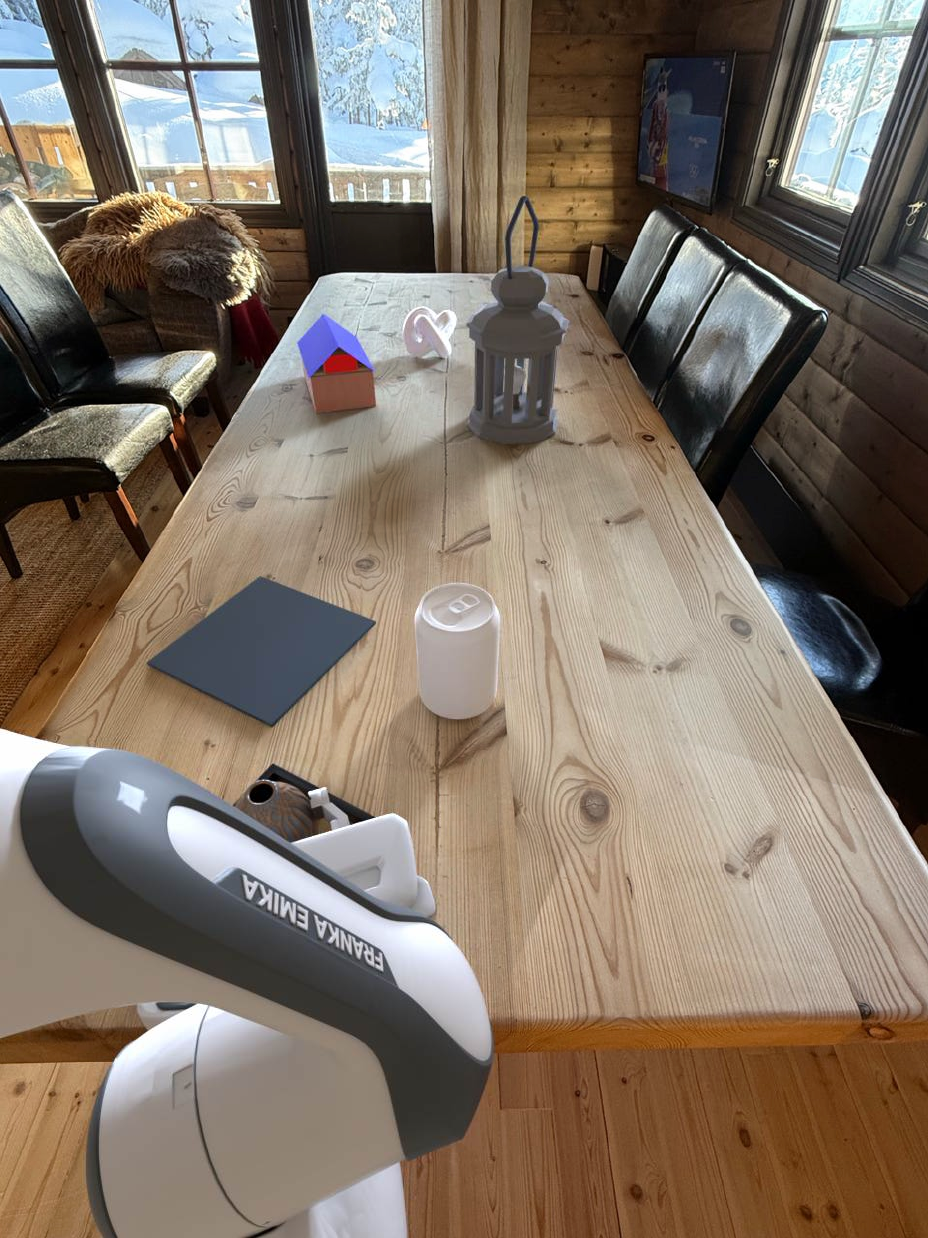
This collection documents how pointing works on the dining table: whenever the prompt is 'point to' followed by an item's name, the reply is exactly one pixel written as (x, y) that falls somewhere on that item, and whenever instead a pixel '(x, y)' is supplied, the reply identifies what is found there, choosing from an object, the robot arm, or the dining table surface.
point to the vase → (279, 809)
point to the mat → (263, 648)
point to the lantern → (516, 352)
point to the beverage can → (457, 650)
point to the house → (336, 368)
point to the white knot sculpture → (428, 332)
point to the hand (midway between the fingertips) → (267, 807)
